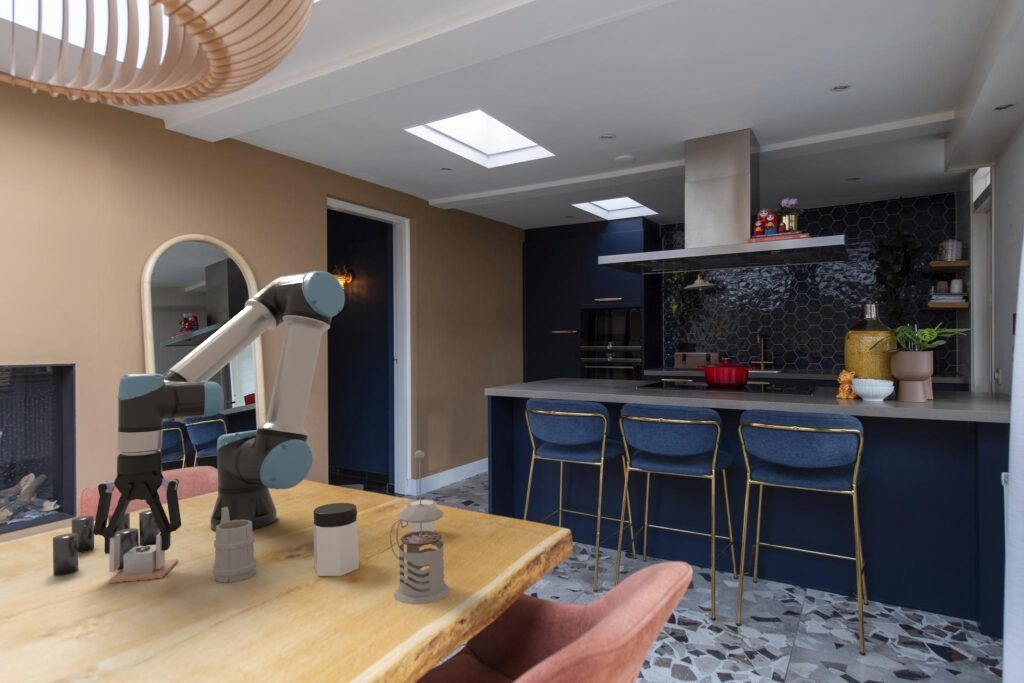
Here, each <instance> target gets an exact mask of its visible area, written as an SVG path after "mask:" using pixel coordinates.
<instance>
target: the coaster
mask: <svg viewBox="0 0 1024 683" xmlns="http://www.w3.org/2000/svg"><path fill="white" fill-rule="evenodd" d="M177 563H179V560H178V558H173V559H172V558H171V559H165V564H164V565H163V566H162V567H161V568H160V569H157V570H156V571H154V572H153V573H151V574H140V575H130V576H124V568H123V569H120V571H119V572H118V573H115V575H114V576H113V577H112V578H110V579H109V584H117V583H116V582H120V583H124V582H123V581H130V582H138V581H137V580H140V581H146V580H147V581H148V579H150V580H156V579H155V578H160V579H163V578H164V577H165V576H166V575H167V574H168V573H169V572H170V571H171V570H172V569H173V568H174V566H175V565H176V564H177ZM169 570H170V571H169ZM168 571H169V572H168ZM166 573H167V574H166ZM165 574H166V575H165ZM163 576H164V577H163Z"/></svg>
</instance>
